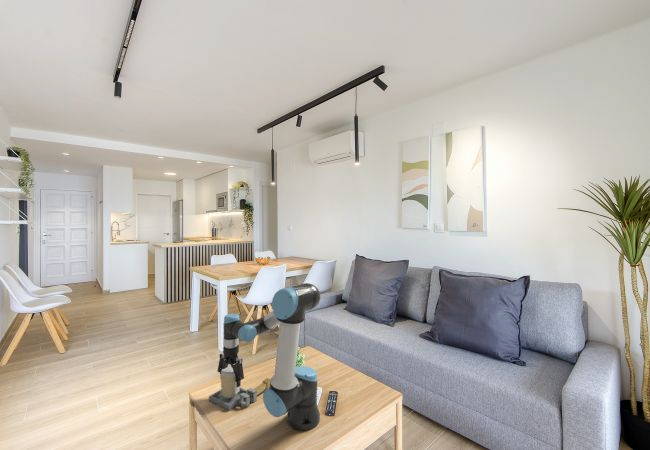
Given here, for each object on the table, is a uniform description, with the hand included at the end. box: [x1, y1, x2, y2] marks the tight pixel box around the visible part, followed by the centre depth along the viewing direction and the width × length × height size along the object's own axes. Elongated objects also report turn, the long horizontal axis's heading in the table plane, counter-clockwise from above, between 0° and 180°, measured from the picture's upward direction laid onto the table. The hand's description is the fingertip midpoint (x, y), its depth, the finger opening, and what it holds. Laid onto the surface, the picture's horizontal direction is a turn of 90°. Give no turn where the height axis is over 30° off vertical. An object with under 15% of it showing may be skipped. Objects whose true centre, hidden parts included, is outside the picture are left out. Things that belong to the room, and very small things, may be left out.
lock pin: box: [249, 377, 271, 398], centre depth 160 cm, size 15×4×4 cm, turn 150°
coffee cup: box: [220, 365, 238, 398], centre depth 154 cm, size 9×9×12 cm
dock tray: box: [208, 387, 258, 411], centre depth 153 cm, size 19×14×5 cm
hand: (230, 389), depth 155 cm, fingers closed on coffee cup, 9 cm apart
